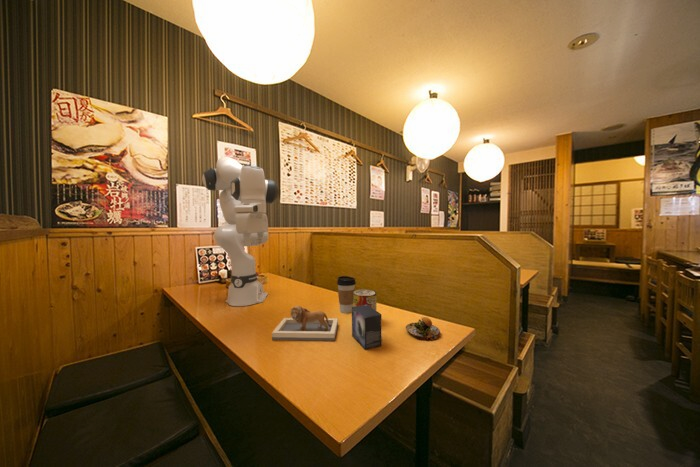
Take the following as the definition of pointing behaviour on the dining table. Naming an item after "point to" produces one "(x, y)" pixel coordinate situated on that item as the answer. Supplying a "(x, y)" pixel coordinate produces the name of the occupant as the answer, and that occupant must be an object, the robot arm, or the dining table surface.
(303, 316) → the lion figurine
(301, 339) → the picture frame
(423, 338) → the plate of food
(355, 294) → the yellow food can
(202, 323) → the dining table surface
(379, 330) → the small box
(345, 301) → the coffee cup
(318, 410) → the dining table surface
